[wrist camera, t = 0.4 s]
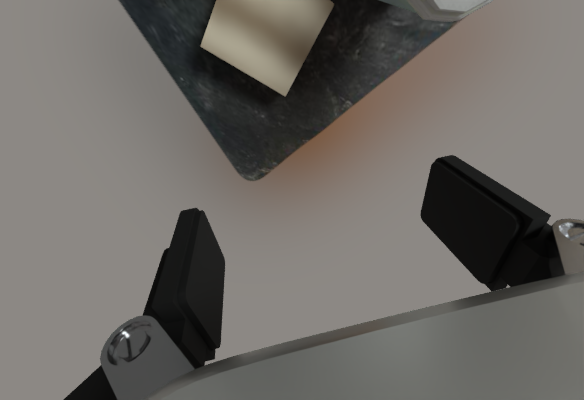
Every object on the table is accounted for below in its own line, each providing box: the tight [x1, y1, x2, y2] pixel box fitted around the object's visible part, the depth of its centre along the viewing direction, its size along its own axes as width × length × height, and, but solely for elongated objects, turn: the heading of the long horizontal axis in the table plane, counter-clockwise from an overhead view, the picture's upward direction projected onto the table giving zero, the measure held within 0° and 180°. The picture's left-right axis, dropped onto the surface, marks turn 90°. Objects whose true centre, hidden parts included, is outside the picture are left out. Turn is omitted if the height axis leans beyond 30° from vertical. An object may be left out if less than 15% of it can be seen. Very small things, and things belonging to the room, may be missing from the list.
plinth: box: [200, 0, 334, 97], centre depth 29 cm, size 11×11×3 cm
